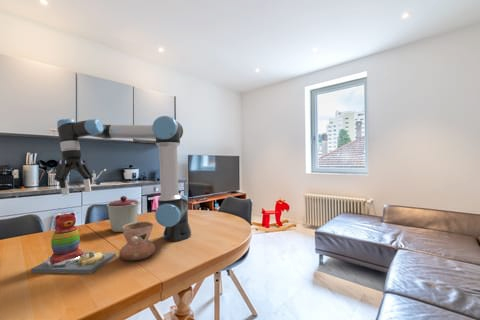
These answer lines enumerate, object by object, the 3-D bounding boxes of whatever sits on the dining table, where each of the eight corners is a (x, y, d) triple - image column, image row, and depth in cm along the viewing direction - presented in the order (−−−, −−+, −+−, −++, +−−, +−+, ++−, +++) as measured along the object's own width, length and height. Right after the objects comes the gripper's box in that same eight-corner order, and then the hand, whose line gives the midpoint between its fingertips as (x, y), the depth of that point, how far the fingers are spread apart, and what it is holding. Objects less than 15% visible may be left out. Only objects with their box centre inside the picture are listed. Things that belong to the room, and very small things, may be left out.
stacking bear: (51, 264, 83) (50, 218, 84) (47, 257, 90) (46, 214, 90) (84, 255, 92) (84, 213, 92) (78, 249, 98) (78, 209, 98)
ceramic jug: (152, 263, 90) (153, 228, 91) (113, 267, 87) (114, 231, 87) (157, 247, 108) (157, 218, 108) (125, 250, 104) (125, 220, 104)
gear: (95, 252, 98) (95, 249, 98) (68, 268, 83) (68, 265, 83) (64, 252, 98) (64, 249, 99) (32, 268, 84) (32, 264, 84)
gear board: (115, 256, 97) (115, 245, 98) (91, 273, 82) (91, 260, 83) (64, 255, 99) (64, 244, 99) (31, 272, 84) (31, 259, 84)
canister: (102, 230, 135) (102, 196, 135) (132, 223, 149) (132, 193, 149) (113, 236, 123) (113, 199, 123) (144, 229, 137) (144, 195, 137)
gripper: (83, 153, 120) (89, 191, 119) (39, 150, 95) (46, 198, 94) (96, 151, 120) (102, 189, 119) (55, 146, 95) (62, 194, 94)
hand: (77, 193), depth 106 cm, fingers open, 13 cm apart
